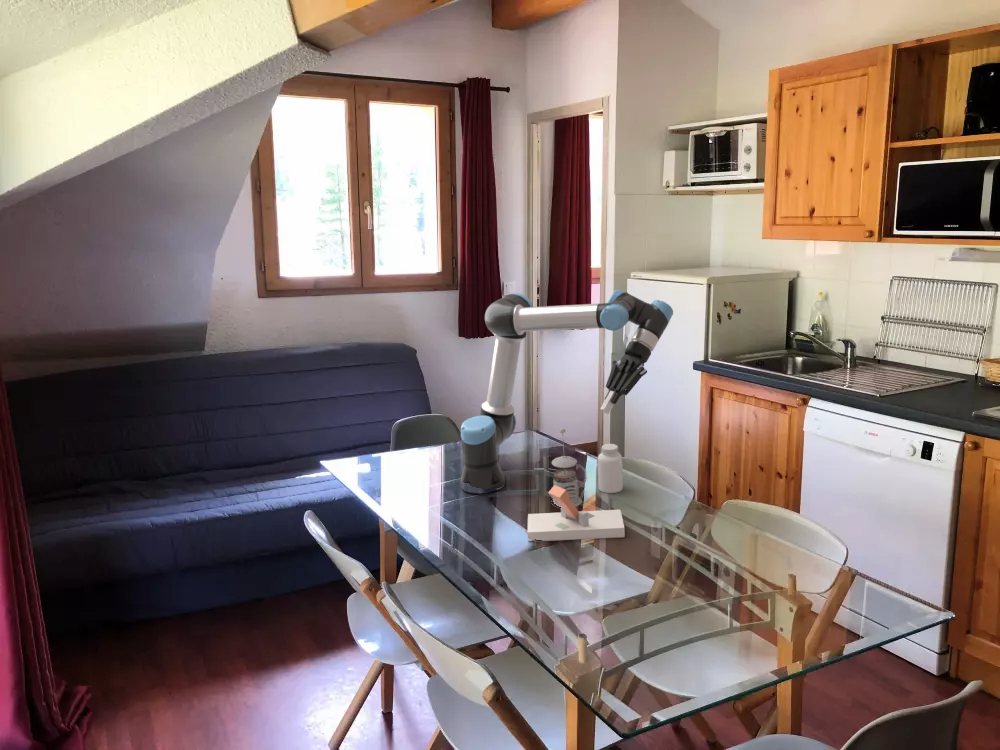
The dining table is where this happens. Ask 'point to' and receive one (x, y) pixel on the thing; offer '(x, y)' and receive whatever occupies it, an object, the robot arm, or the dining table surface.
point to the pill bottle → (610, 469)
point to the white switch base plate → (576, 525)
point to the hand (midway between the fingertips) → (604, 411)
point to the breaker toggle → (564, 502)
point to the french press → (567, 476)
